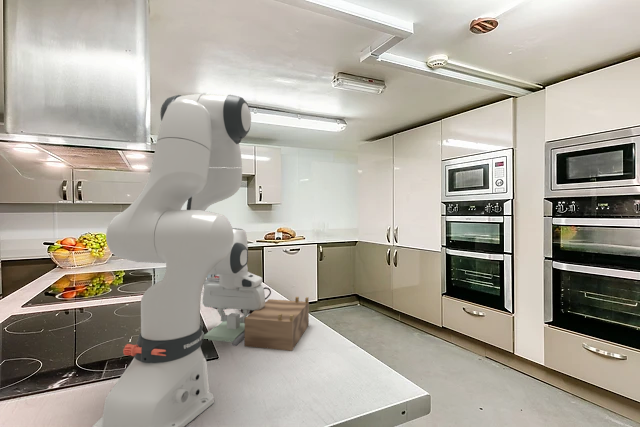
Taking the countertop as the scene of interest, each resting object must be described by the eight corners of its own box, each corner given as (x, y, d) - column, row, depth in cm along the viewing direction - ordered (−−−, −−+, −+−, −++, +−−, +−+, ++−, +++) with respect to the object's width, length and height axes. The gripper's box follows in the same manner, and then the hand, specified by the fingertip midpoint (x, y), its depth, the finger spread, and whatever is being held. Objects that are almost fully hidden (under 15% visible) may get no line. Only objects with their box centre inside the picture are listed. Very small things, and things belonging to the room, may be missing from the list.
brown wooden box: (291, 350, 91) (292, 316, 91) (244, 346, 94) (244, 312, 94) (308, 325, 111) (308, 297, 110) (269, 322, 113) (269, 294, 113)
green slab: (236, 346, 94) (236, 327, 94) (199, 343, 97) (199, 324, 96) (262, 323, 114) (262, 306, 114) (231, 320, 116) (231, 304, 116)
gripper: (198, 279, 104) (198, 322, 104) (259, 282, 100) (259, 327, 100) (209, 275, 110) (209, 316, 110) (267, 278, 106) (266, 320, 106)
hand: (233, 321), depth 105 cm, fingers open, 5 cm apart
